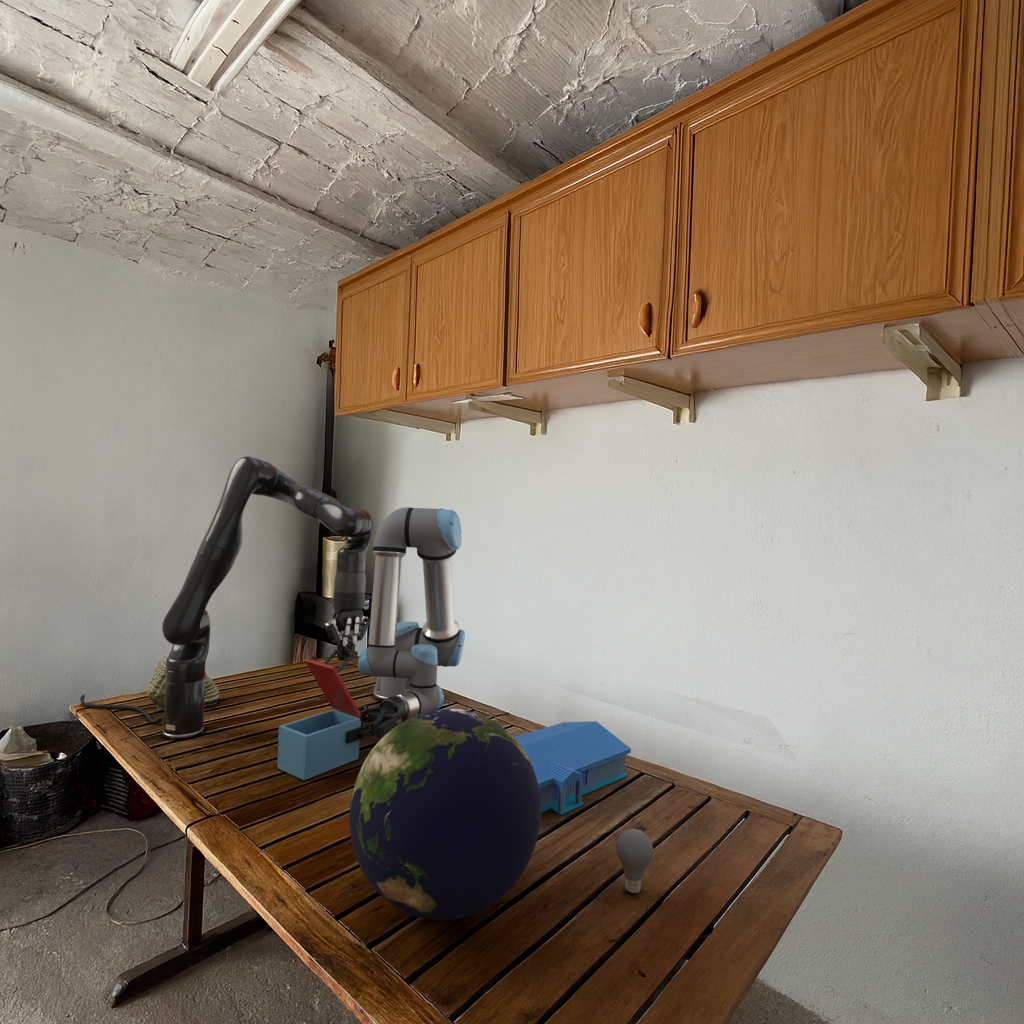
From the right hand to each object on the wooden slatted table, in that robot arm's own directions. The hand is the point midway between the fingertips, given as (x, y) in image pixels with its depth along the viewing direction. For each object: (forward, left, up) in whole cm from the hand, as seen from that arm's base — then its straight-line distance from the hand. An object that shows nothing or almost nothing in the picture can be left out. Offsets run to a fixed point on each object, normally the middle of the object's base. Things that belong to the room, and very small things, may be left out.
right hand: (332, 732), depth 153 cm
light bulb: (+37, +71, -6) cm, 80 cm away
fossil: (-23, -57, -6) cm, 62 cm away
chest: (+3, -2, -6) cm, 7 cm away
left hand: (-3, +1, +17) cm, 17 cm away
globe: (+47, +41, -6) cm, 62 cm away
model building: (+1, +52, -6) cm, 52 cm away
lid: (+1, 0, +11) cm, 11 cm away
